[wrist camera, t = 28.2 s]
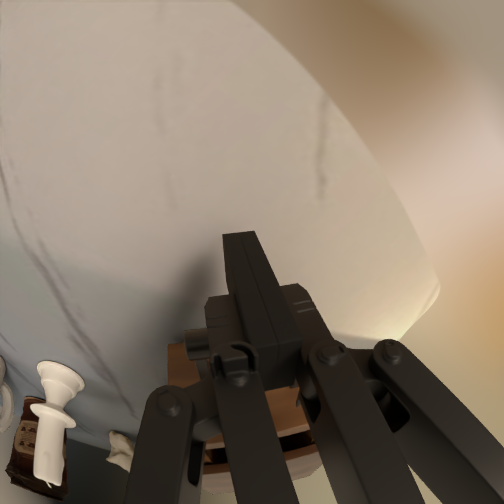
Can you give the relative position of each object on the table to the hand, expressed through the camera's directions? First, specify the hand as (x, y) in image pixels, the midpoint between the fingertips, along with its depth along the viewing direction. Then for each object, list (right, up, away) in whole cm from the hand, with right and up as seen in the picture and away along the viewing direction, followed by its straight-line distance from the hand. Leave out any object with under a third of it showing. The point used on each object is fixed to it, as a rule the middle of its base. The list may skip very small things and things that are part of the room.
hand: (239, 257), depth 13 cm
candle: (-18, -12, +6) cm, 22 cm away
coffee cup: (-26, -19, +9) cm, 34 cm away
